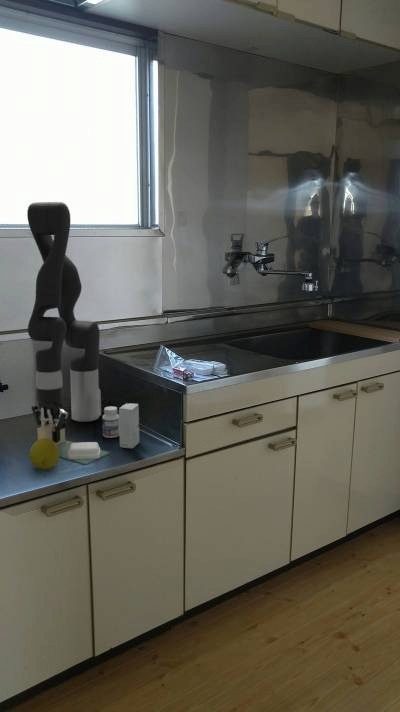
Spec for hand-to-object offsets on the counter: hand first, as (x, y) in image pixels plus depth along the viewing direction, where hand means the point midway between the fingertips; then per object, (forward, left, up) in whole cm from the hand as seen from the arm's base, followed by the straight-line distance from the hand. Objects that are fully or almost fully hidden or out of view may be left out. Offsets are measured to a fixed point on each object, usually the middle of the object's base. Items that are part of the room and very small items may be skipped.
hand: (51, 440), depth 177 cm
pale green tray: (0, +8, -2) cm, 8 cm away
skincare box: (-14, +18, -2) cm, 23 cm away
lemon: (+12, +10, -2) cm, 16 cm away
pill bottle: (-17, +9, -2) cm, 19 cm away
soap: (0, +13, -1) cm, 13 cm away
